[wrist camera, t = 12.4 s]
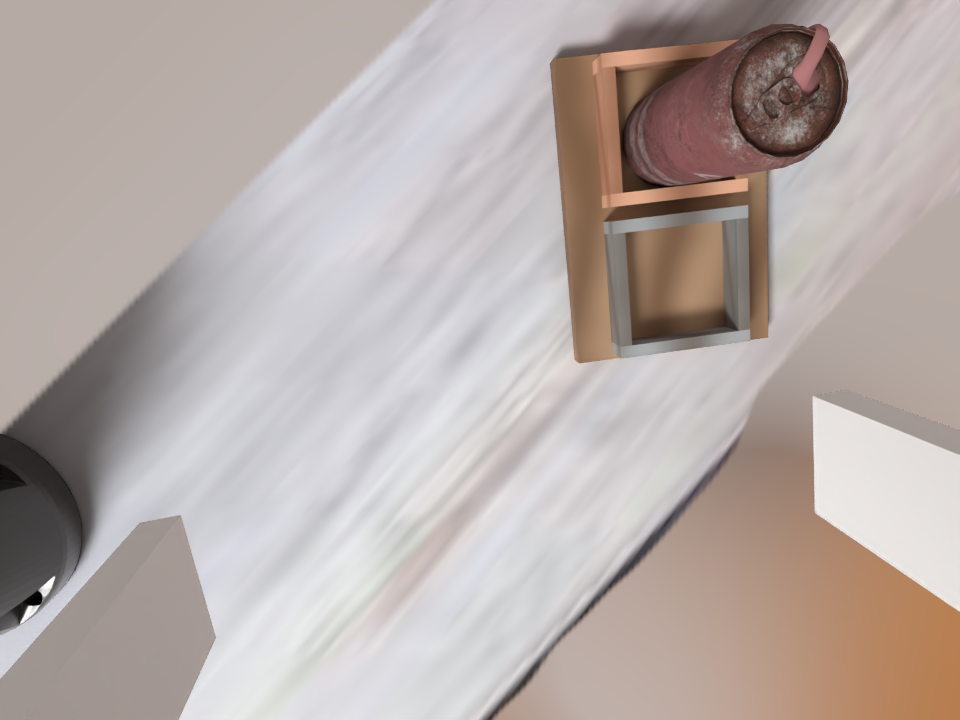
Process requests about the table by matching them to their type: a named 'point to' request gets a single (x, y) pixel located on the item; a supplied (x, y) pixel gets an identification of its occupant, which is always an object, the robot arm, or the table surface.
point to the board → (651, 222)
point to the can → (740, 109)
